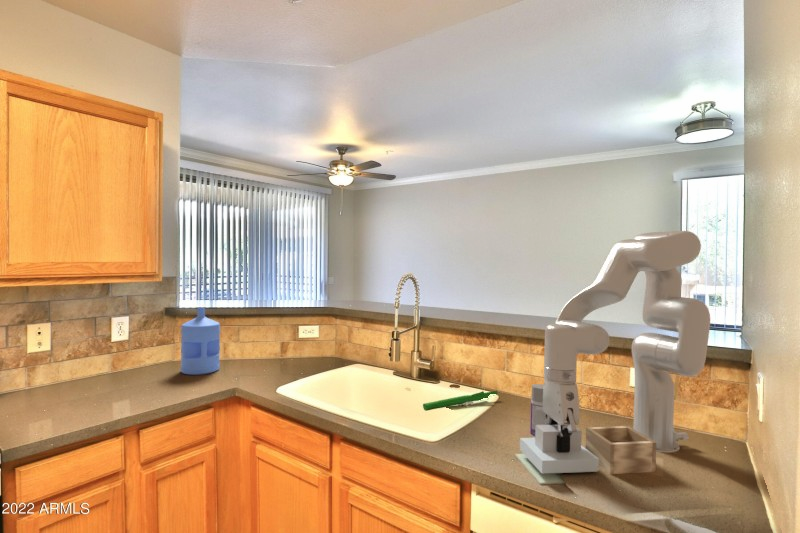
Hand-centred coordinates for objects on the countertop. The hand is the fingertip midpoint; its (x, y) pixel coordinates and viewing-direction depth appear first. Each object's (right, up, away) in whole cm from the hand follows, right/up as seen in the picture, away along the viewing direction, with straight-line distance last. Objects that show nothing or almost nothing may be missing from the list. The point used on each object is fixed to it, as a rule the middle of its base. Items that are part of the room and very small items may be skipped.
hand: (558, 446), depth 102 cm
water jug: (-129, -2, +81) cm, 152 cm away
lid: (0, -3, 0) cm, 3 cm away
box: (+16, -5, +1) cm, 17 cm away
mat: (0, -5, 0) cm, 5 cm away
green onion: (-17, -5, +44) cm, 47 cm away
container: (+1, -5, +17) cm, 18 cm away
